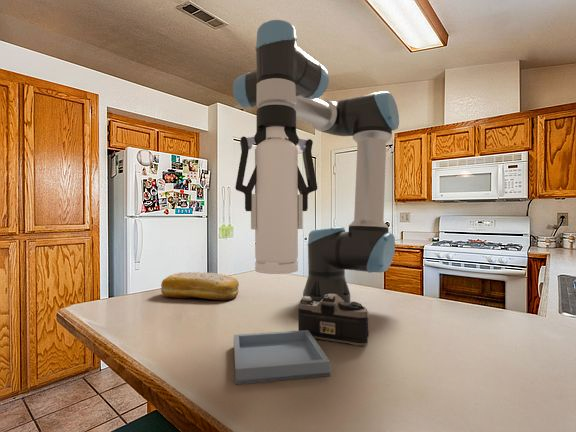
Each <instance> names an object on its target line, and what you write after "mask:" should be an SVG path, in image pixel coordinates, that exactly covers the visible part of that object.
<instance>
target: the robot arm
mask: <svg viewBox="0 0 576 432" xmlns="http://www.w3.org/2000/svg"><path fill="white" fill-rule="evenodd" d="M256 31H257V32H256V43H255V44H256V45H255V54H256V56H255V57H256V61H255V62H256V70H254V71H251V72H250V71H249V72H246V73H244V74H242V75H240V76H239V75H238V76H237V77H236V78H235V80H234V81H233V84H232V93H233V98H234V100H235V101H236V103H237V104H238V105H239V106H240V107H242V108H245V109H249V108H255V107H257V110H256V113H255V114H256V133H255V135H253V136H250V137H249V136H248V137H246V136H241V137H240V142H239V145H240V149H241V150H240V151H241V154H240V158H239V164H238V170H237V174H236V176H237V177H236V181H235V187H234V188H235V190H236V191H237V192H240V193H243V194H244V210H245V212H250V229H251V230H255V229H256V194H255V193H253V190H254V189H255V183H256V181H257V165H256V167H255V166H254V169H253V171H252V173H251V176H250V178H249V180H248V182H247V185H243V184H244V181H245V180H244V179H245V174H246V169H247V167H246V166H247V163H248V158H249V150H252V148H253V144H255V146H257V145H258V144H259V143H261V142H262V141H264V140H266V127H272V126H280V127H284V131H285V134H286V136H287V137H288V139H287V138H285V139H286V140H289V141H290V142H292V143H294V144H295V145H296V146H297V145H298V146H299V150H300V151H301V152H302V161H303V166H304V171H305V177H306V182H305V179H304V177H303V175H302V172H301V170H300V168H299V166H298V230H303V228H304V227H303V223H304V222H303V212H308V209H309V207H308V206H309V205H308V203H309V201H308V199H309V194H310V193H313V192H315V191H317V190H318V182H317V176H316V172H315V171H316V170H315V165H314V160H313V155H312V149H313V143H314V142H313V140H312V139H310V138H308V139H302V138H299V136H298V133H297V120H299V121H302V122H304V123H306V124H309V125H311V126H312V128H313V129H314V130H316V131H319V132H321V133H325V134H329V135H332V136H336V137H337V136H338V137H352V140H354V142H355V143H356V144H357V148H356V164H355V165H356V169H355V188H354V189H355V193H354V194H355V195H354V214H353V215H354V216H353V218H354V219H353V221H352V222H351V223H350V224H349V225H348V231H346V229H345V227H344V226H339V227H331V228H321V229H315V230H311V231H310V232H309V233H308V241H307V250H308V251H307V257H308V258H307V260H308V263H307V265H308V266H307V268H308V273H307V274H308V275H307V279H306V282H305V285H304V289H303V291H302V297H304V296H309V297H311V299H312V301H315V302H320V301H321V300H322V299H324V296H325V295H326V294H337V295H338V296H339V297H341V298H342V299H343V300H344V302H351V291H350V289H349V286H348V283H347V282H348V281H347V279H346V276H345V274H346V272H345V271H346V270H347V271H356V272H365V273H366V272H367V273H384V272H386V271H387V270H388V269H389V268H390V266H391V265H392V263H393V259H394V256H395V251H396V241H395V240H396V239H395V236H394V234H393V233H391V232H389V225H387V224H386V223H385V221H384V215H385V214H384V212H385V190H386V188H385V186H386V185H385V184H386V162H387V161H386V158H387V157H386V155H387V143H388V142H389V141H390V140H391V139H392V137H393V135H392V133H393V131H396V130H398V129H399V125H400V115H399V109H398V106H397V103H396V100H395V98H394V96H393V95H392V93H391V92H389V91H378V92H376V91H374V92H373V93H369V94H368V93H367V94H364V95H360V96H354V97H349V98H345V99H339V100H333V101H332V100H329V99H319V98H320V97H322V96H323V95H324V94H325V92H326V91H327V89H328V87H329V82H330V77H329V73H328V70H327V69H326V67H325V66H324V65H322V64H321V63H320V62H319V61H318V60H316V59H314V58H313V57H312V56H310V55H309V54H307V53H306V52H305V51H303V49H302V48H300V47H299V46H297V42H298V39H297V34H296V28H295V26H294V25H293V24H292V23H290V22H288V21H286V20H283V19H282V20H281V19H271V20H268V21H266V22H263V23H262V24H261V25H259V27H258V28H257V30H256ZM267 139H271V138H267ZM306 183H307V184H306Z"/></svg>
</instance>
